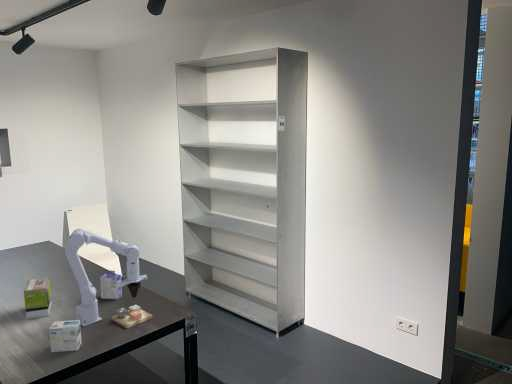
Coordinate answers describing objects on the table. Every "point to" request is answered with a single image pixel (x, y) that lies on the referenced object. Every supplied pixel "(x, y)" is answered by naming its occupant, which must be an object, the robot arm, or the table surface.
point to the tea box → (37, 298)
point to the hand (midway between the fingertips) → (134, 296)
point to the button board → (128, 322)
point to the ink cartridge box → (110, 286)
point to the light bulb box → (65, 336)
